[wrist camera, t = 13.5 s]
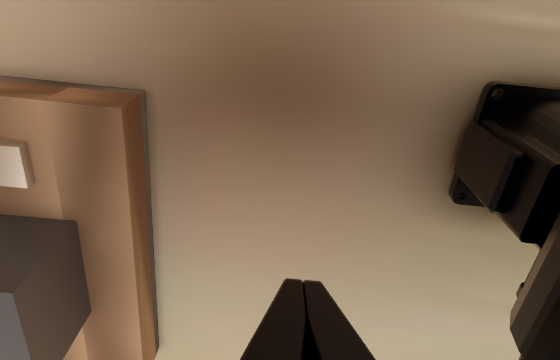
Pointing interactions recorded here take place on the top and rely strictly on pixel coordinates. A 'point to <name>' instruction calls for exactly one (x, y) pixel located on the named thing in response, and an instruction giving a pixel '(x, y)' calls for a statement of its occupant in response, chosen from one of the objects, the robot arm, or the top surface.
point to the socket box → (88, 199)
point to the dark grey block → (40, 287)
